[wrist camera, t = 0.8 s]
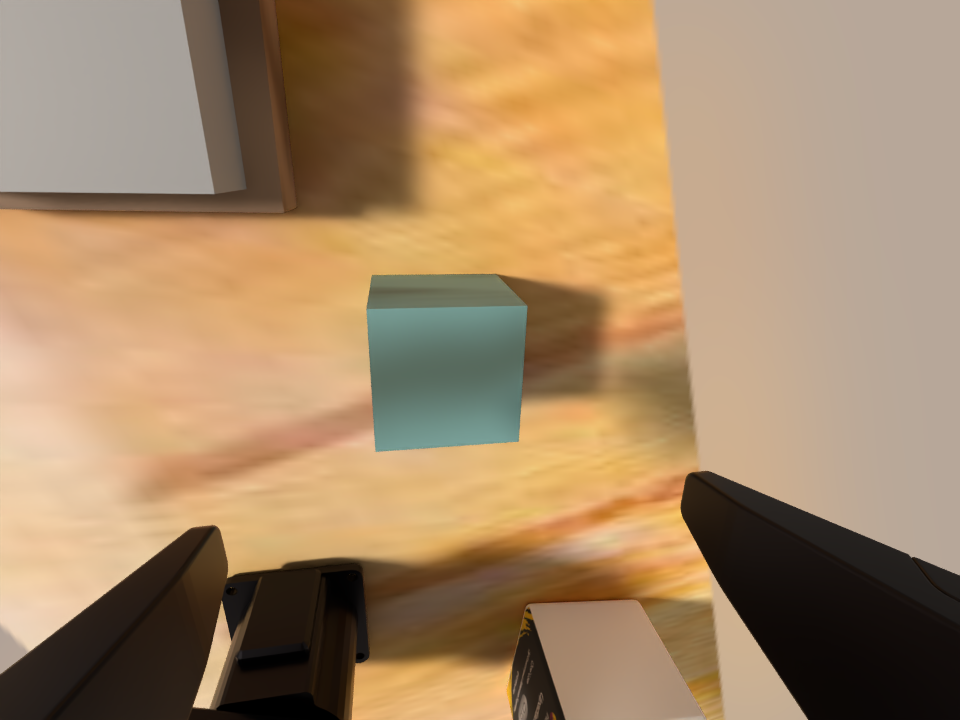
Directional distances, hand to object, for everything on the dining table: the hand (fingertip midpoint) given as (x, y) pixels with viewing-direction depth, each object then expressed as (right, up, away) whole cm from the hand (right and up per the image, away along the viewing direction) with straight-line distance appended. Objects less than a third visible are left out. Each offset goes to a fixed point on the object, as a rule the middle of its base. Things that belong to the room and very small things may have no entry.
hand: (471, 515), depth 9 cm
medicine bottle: (+6, -14, +20) cm, 25 cm away
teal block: (-2, +4, +11) cm, 12 cm away
